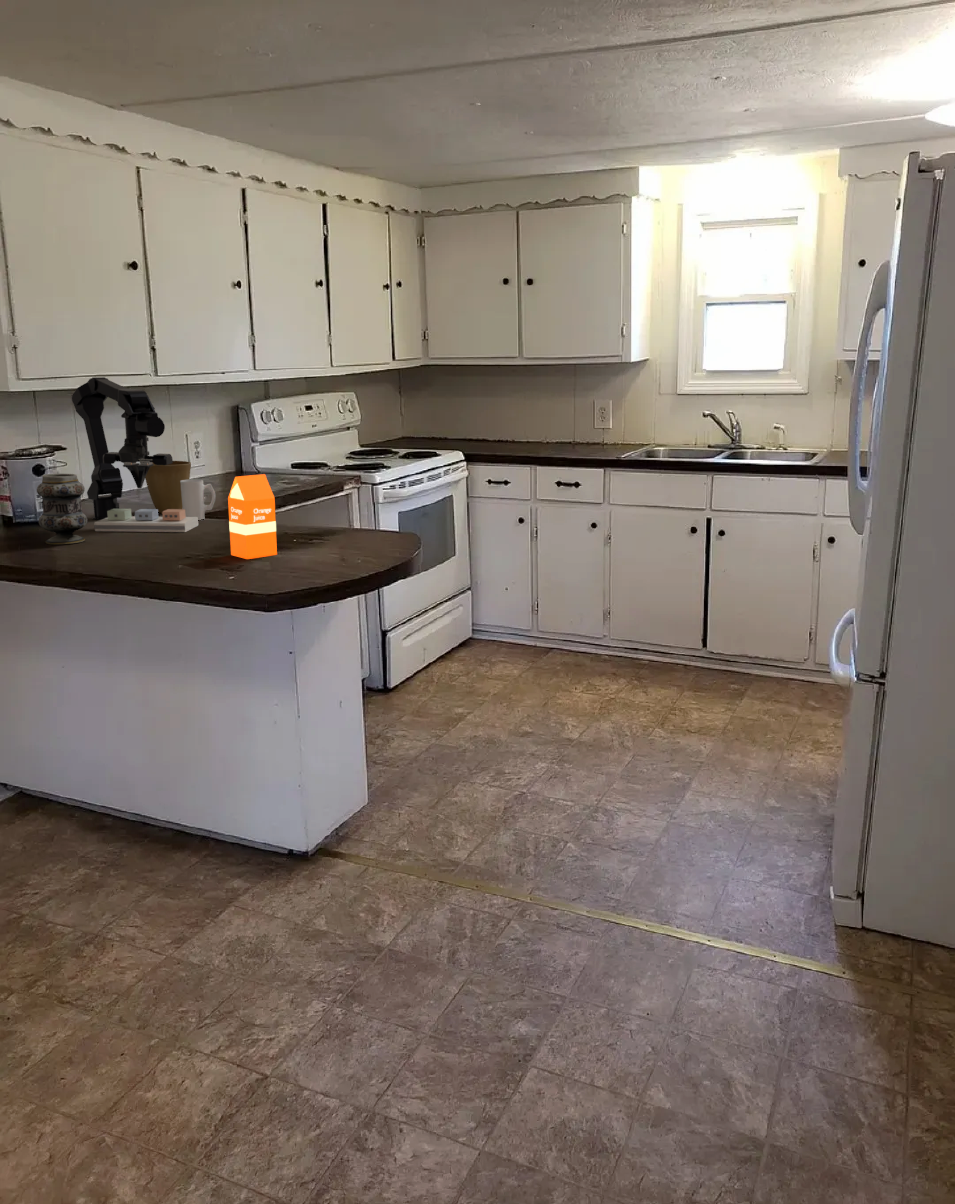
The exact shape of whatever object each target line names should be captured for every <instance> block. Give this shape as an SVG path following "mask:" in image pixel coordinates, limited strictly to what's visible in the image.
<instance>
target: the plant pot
mask: <svg viewBox="0 0 955 1204" xmlns="http://www.w3.org/2000/svg"><path fill="white" fill-rule="evenodd" d="M152 464H154V463H153V462H152ZM191 466H192V462H190V461H185V460H173V463H172V464H169V465H155V464H154V466H151V467H150V468H149V470H148V472H147V474H146V477H145V482H146V483H145V484H146V486H147V489H148V492H149V495H150V498H151V501H152V503H153V506H154V509H158V512H159V513H158V514H162V512H163V511H165V510H167V509H183V506H182V495H181V482H180V481H181V480H189V479H190V477H191V469H192V467H191Z"/></svg>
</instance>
